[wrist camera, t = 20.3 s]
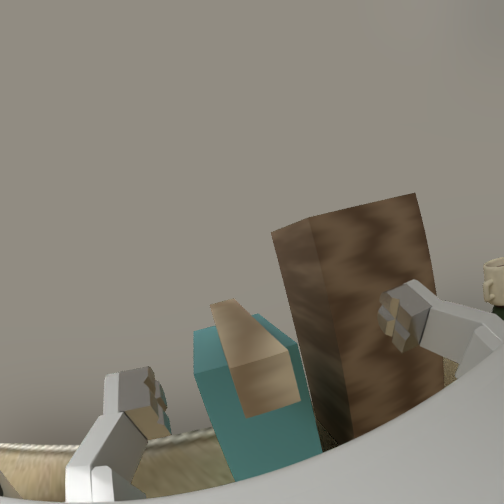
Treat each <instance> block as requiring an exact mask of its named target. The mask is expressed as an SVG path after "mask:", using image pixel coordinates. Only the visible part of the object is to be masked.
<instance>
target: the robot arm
mask: <svg viewBox="0 0 504 504" xmlns="http://www.w3.org/2000/svg"><path fill="white" fill-rule="evenodd" d="M379 302H380V303H381V304H382V306H381V307H380V309H379V310H378V315H377V320H378V324H379V326H380V328H381V330H382V331H383V332H384V334H386V335H389V336H391V337H392V343H393V344H394V345H395V346H396V347H397V348H398V349H399V351H400V352H401V353H404V352H406V351H408V350H410V349H412V348H414V347H416V346H418V345H420V346H421V347H423V348H425V349H427V350H430V351H432V352H434V353H436V354H438V355H441V356H443V357H445V358H447V359H449V360H452V361H454V362H456V363H458V364H459V366H458V368H457V370H456V372H455V377H456V378H457V380H455V381H454V382H452V383H451V384H450V385H448V386H447V387H445V388H444V389H442V390H441V391H439V392H438V393H436V394H435V395H433V396H431V397H430V398H428V399H427V400H425V401H423V402H422V403H420V404H419V405H417V406H415V407H414V408H412V409H410V410H408V411H407V412H405V413H403V414H402V415H400V416H398V417H396V418H394V419H393V420H391V421H389V422H387V423H385V424H383V425H381V426H379V427H377V428H376V429H374V430H372V431H370V432H368V433H366V434H364V435H361V436H359V437H357V438H355V439H353V440H351V441H349V442H347V443H344V444H342V445H340V446H338V447H335V448H333V449H331V450H328V451H326V452H323V453H321V454H319V455H316V456H314V457H311V458H308V459H306V460H303V461H300V462H298V463H295V464H292V465H289V466H287V467H284V468H281V469H278V470H275V471H272V472H268V473H265V474H262V475H259V476H255V477H252V478H248V479H245V480H241V481H237V482H233V483H230V484H226V485H221V486H217V487H213V488H208V489H203V490H198V491H193V492H188V493H182V494H176V495H170V496H163V497H156V498H148V499H146V494H144V493H143V492H142V491H140V490H139V489H138V488H136V487H135V486H133V485H132V484H131V481H132V479H133V476H134V474H135V472H136V469H137V467H138V464H139V462H140V460H141V457H142V455H143V453H144V450H145V448H146V446H147V443H148V441H147V440H152V439H157V438H161V437H166V436H170V435H172V434H171V428H170V423H169V418H168V416H167V415H166V413H165V411H166V409H167V402H166V398H165V395H164V391H163V389H162V386H161V385H160V383H159V382H158V381H156V380H155V376H154V372H153V370H152V369H151V367H149V366H148V367H143V368H138V369H133V370H128V371H122V372H118V373H113V374H107V375H106V377H105V382H104V383H105V384H104V409H103V415H101V416H99V417H98V419H97V420H96V422H95V423H94V425H93V426H92V428H91V429H90V431H89V432H88V434H87V436H86V437H85V438H84V440H83V441H82V443H81V445H80V446H79V447H78V449H77V451H76V452H75V454H74V455H73V457H72V458H71V460H70V461H69V463H68V464H67V466H66V482H65V489H66V502H49V501H35V500H25V499H23V498H22V497H21V496H20V495H19V493H18V492H17V491H16V490H15V488H14V487H13V486H12V485H11V483H10V482H9V481H8V480H7V478H6V477H5V476H4V474H3V473H2V472H1V471H0V504H504V321H503V320H502V319H501V318H500V317H498V316H497V315H496V314H493V313H490V312H486V311H483V310H479V309H475V308H472V307H468V306H464V305H461V304H457V303H453V302H450V301H446V300H445V301H441V300H440V299H439V298H438V297H437V296H436V295H434V294H433V293H432V292H431V291H430V290H429V289H427V288H426V287H425V286H424V285H423V284H421V283H420V282H419V281H418V280H415V279H413V280H411V281H409V282H406V283H404V284H401V285H399V286H397V287H394V288H392V289H390V290H387V291H385V292H382V294H381V295H380V300H379Z"/></svg>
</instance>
